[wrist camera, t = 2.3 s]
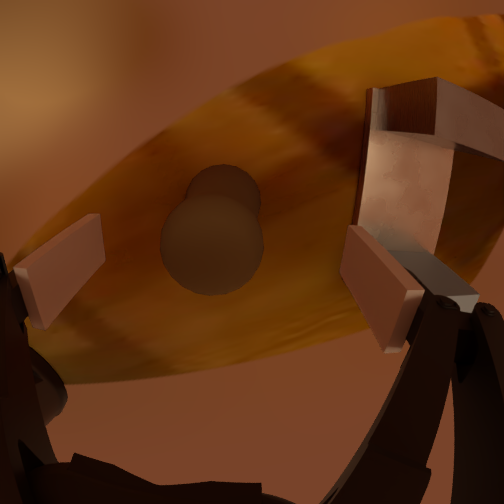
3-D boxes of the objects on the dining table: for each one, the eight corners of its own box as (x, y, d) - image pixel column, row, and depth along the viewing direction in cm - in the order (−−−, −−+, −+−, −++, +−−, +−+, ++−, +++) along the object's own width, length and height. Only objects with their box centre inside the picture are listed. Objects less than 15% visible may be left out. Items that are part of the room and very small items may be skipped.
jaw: (350, 284, 25) (385, 341, 18) (358, 248, 24) (400, 298, 17) (420, 284, 26) (463, 331, 18) (430, 252, 24) (479, 294, 17)
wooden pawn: (233, 149, 22) (224, 164, 12) (275, 211, 24) (299, 275, 14) (171, 192, 23) (119, 242, 13) (214, 250, 25) (197, 332, 15)
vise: (341, 278, 26) (378, 341, 18) (367, 89, 20) (430, 74, 11) (418, 279, 27) (467, 331, 18) (449, 113, 20) (520, 119, 12)
